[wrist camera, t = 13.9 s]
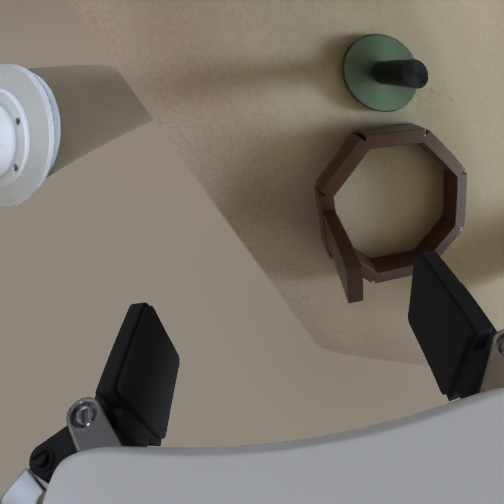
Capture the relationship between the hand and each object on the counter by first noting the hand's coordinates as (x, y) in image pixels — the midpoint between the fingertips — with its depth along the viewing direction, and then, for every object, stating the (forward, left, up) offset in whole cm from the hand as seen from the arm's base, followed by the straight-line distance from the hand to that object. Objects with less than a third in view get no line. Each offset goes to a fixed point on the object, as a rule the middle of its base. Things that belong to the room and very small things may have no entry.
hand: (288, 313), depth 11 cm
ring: (+12, -8, -23) cm, 27 cm away
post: (+13, +6, -23) cm, 27 cm away
